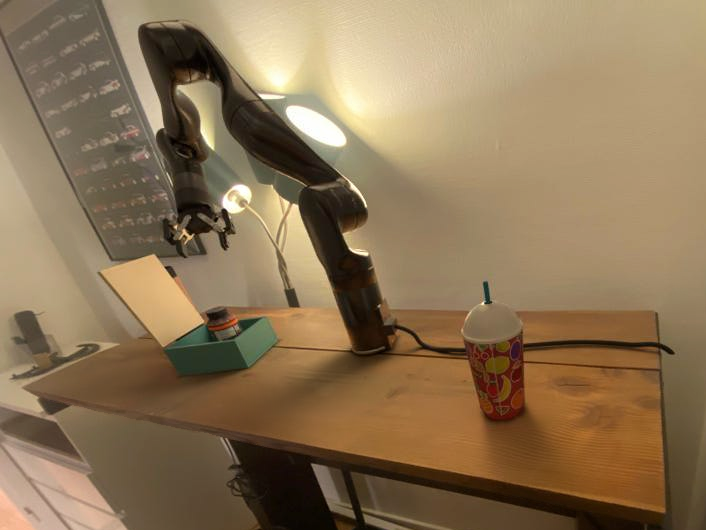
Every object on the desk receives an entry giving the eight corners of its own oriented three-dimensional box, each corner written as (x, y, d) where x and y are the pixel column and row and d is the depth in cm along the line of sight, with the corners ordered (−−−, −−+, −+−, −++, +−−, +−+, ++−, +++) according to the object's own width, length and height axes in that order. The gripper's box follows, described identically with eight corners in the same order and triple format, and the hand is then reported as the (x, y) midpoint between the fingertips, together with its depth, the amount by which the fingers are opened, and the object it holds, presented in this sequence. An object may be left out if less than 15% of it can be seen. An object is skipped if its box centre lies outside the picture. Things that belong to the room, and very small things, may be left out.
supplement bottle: (226, 352, 90) (202, 308, 85) (253, 344, 92) (231, 301, 87) (222, 362, 85) (197, 316, 80) (250, 354, 87) (228, 309, 82)
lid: (154, 253, 84) (136, 260, 85) (99, 271, 72) (79, 278, 73) (204, 321, 92) (188, 327, 93) (163, 347, 80) (144, 353, 81)
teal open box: (278, 340, 94) (267, 315, 91) (248, 367, 83) (234, 340, 79) (217, 348, 96) (204, 323, 92) (179, 376, 84) (162, 349, 81)
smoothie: (473, 397, 60) (451, 277, 51) (524, 389, 60) (512, 267, 51) (478, 431, 53) (453, 298, 43) (536, 421, 53) (524, 286, 43)
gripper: (150, 191, 86) (159, 249, 82) (217, 180, 90) (230, 236, 86) (170, 213, 93) (180, 268, 89) (232, 202, 97) (244, 255, 93)
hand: (204, 252), depth 88 cm, fingers open, 8 cm apart
